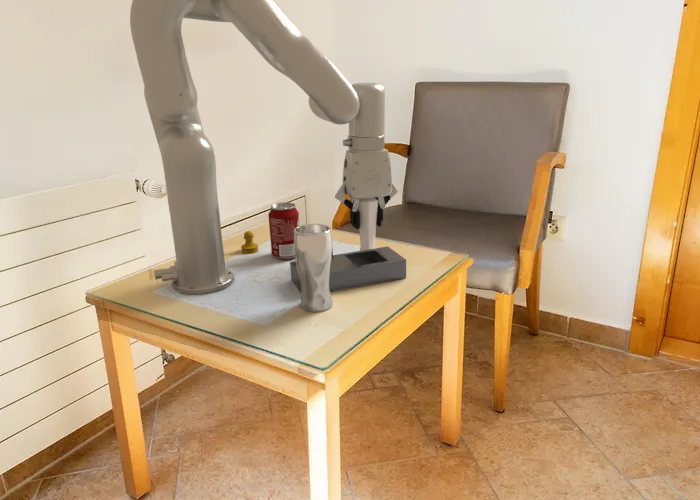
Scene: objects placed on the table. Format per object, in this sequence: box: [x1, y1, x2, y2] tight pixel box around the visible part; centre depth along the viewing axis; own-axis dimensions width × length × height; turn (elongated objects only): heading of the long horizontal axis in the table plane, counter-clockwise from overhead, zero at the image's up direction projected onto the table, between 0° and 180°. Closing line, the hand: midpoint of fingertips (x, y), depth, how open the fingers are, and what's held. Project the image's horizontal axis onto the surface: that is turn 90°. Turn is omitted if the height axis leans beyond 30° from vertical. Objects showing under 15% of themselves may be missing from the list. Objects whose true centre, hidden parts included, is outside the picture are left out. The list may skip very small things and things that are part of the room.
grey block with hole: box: [289, 246, 407, 293], centre depth 122 cm, size 22×9×4 cm, turn 111°
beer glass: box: [294, 223, 334, 313], centre depth 109 cm, size 7×7×15 cm
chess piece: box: [240, 230, 259, 255], centre depth 140 cm, size 4×4×5 cm
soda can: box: [267, 201, 300, 261], centre depth 135 cm, size 7×7×12 cm
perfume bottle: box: [358, 198, 378, 251], centre depth 131 cm, size 5×4×15 cm
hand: (366, 225), depth 132 cm, fingers closed on perfume bottle, 4 cm apart
